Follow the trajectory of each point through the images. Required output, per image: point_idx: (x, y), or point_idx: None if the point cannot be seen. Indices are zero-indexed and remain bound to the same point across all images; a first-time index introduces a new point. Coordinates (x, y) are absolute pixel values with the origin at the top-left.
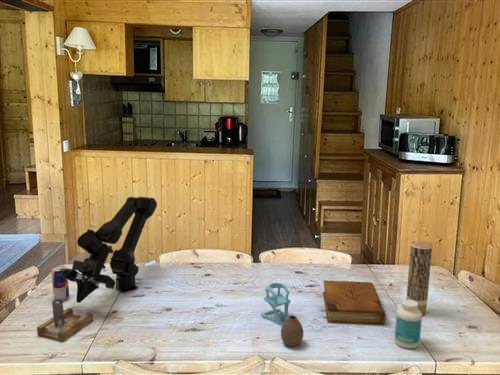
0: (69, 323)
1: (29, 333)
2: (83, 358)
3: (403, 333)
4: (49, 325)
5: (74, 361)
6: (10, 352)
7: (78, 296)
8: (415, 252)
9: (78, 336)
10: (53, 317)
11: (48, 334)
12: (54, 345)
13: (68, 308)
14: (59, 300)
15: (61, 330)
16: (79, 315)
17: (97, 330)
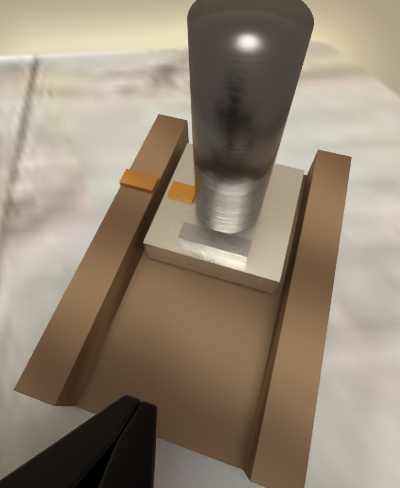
0: (164, 222)
1: (396, 214)
2: (36, 70)
3: None
4: (290, 193)
5: (67, 56)
6: (355, 82)
7: (115, 449)
8: None
9: (102, 203)
10: (328, 282)
11: None
12: None
13: (295, 478)
14: (235, 35)
15: (175, 136)
16: (171, 440)
17: (3, 269)
